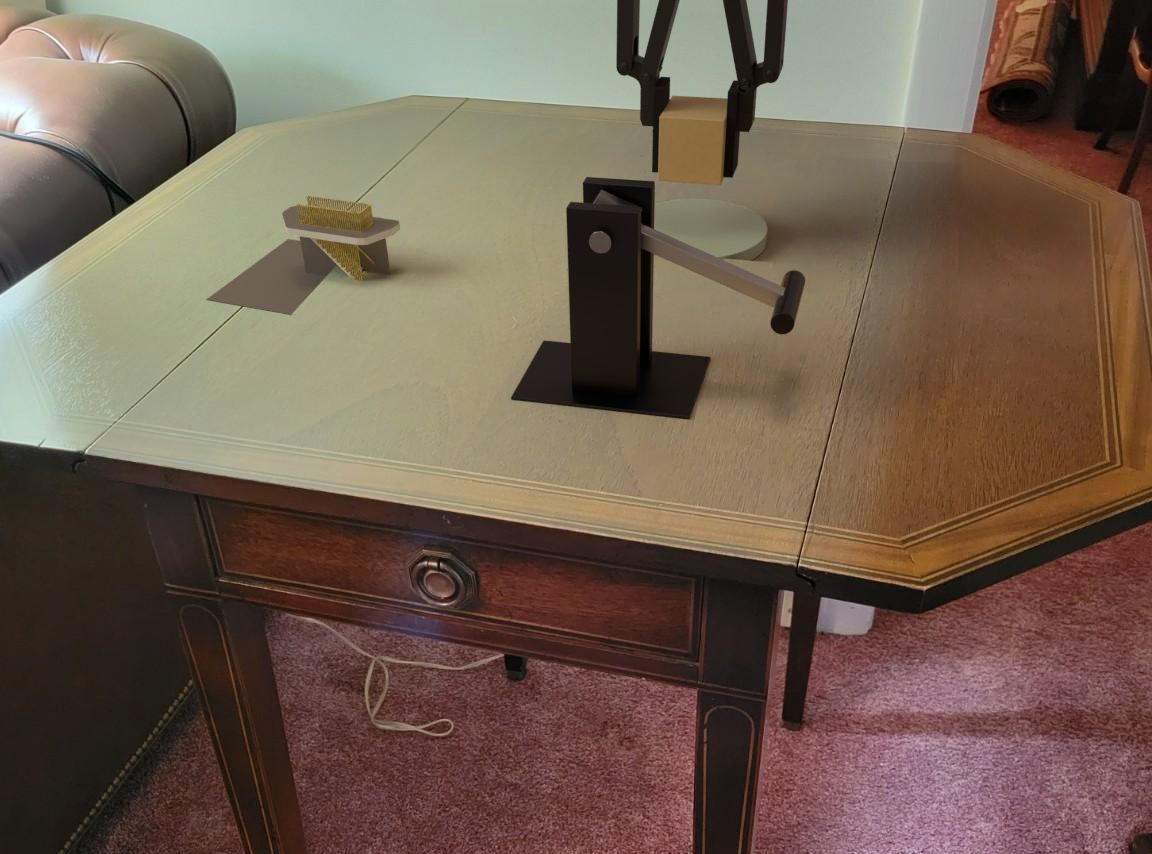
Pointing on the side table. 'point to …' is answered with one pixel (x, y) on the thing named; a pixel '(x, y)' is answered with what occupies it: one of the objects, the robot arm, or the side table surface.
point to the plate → (713, 227)
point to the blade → (724, 271)
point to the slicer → (612, 317)
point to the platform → (313, 255)
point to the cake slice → (692, 140)
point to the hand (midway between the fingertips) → (695, 168)
